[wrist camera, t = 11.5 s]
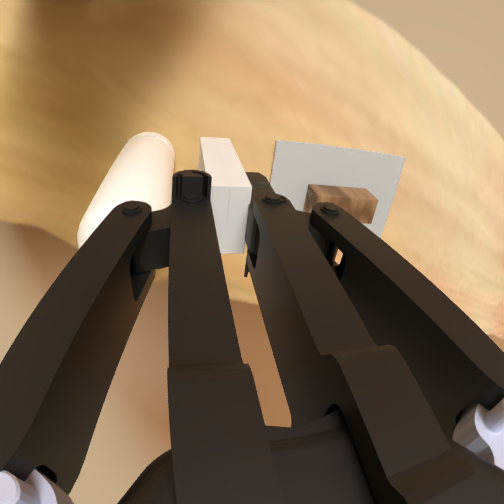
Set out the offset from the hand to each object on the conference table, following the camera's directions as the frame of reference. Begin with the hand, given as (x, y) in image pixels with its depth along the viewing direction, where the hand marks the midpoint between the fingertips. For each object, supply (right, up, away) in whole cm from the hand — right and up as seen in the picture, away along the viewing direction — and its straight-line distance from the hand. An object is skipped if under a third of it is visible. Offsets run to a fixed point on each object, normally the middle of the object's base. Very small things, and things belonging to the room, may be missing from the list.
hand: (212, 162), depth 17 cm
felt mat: (+16, +5, +37) cm, 41 cm away
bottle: (-13, +9, +28) cm, 32 cm away
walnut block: (+11, +3, +34) cm, 36 cm away
